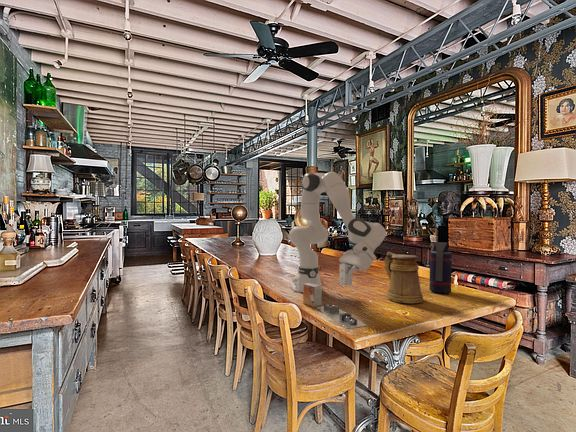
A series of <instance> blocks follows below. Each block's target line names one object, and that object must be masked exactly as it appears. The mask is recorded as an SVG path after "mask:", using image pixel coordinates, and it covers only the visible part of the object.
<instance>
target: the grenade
mask: <svg viewBox="0 0 576 432" xmlns="http://www.w3.org/2000/svg"><path fill="white" fill-rule="evenodd" d="M452 267H453V253H452V252H451V251H450V250H449V242H440V241H436V242H433V245H432V246H431V249H430V252H429V288H428V290H430V292H431V293H432V294H435V293H441V294H444V295H448V294H449V293H452V277H453V276H452V274H453V273H452V272H453V271H452V269H453V268H452Z"/></svg>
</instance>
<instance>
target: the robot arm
mask: <svg viewBox="0 0 576 432" xmlns="http://www.w3.org/2000/svg"><path fill="white" fill-rule="evenodd" d="M301 186H302V191H301V192H302V193H301V197H300V199H301V200H300V216H301V218H302V219H303V220H305V221H306V222H307V226H305V225H301V226H295V227H292V228H291V229H290V231H289V233H288V239H289V241H290V242H291V244H292V245H294V246H295V247H296V249H297V251H298V254H299V255H298V257H299V266H298V270H297V273H296V275H295V276H294V277H293V278H292V283H290V285H289V286H290V288H291V289H292V290H293V292H296V293H297V292H299V293H304V284H306V283H314V284H318V285H322V282H321V276H320V274H319V271H320V269H319V259H318V258H319V256H318V253H317V252H316V251H315V250H313V249H312V245H316V244H317V245H319V244H322V243H325V242H327V241H328V239H329V232H328V229H327V228H326V227H325V226H324V225H323V223H322V221H321V217H320V197H321V195H322V193H323V194H324V195H325V194H326V195H327V197H328V199H329V201H330V202H331V203H332V205H333V206H334V208H335V209H336V211H337V213H338V214H339V216H340V217H341V221H342V222H343V224H344V227H345V228H346V230H347V240H348V242H349V244H350V245H352V246H353V248H351V249H348V250H346V251H345V252H344V253H343V254H342V255H341V256H340V257H339V259H338V261H339V262H340V264H349V265H352V268H351V269H350V270H348V271H347V274H348V275H351V274H352V275H353V274H354V273H355V272H357V271H358V270H359V271H362V272H365V271H367V270H368V269H369V268H370V267H371V265H372V264H373V263H374V261H376V260H377V256H376V255H375V253H374V252H375V250H376V249H377V248H378V247H379V246H380V245H381V244H382V243H383V241H384V239H385V238H386V236H387V231H386V229H385V227H384V226H383V225H382V224H381V223H378V222H370V221H366V220H364V219H362V218H359V217H357V218H355V216H354V214H353V212H352V208H351V207H352V206H351V197H350V191H349V189H348V187H347V185H346V184H345V182H344V181H343V179H342V178H341V177H340V175H339V174H338V173H337V172H335V171H329V172H326V173H325V172H314V173H313V172H308V173H305V174H304V175H303V177H302V179H301ZM322 290H323V286H322Z"/></svg>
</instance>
